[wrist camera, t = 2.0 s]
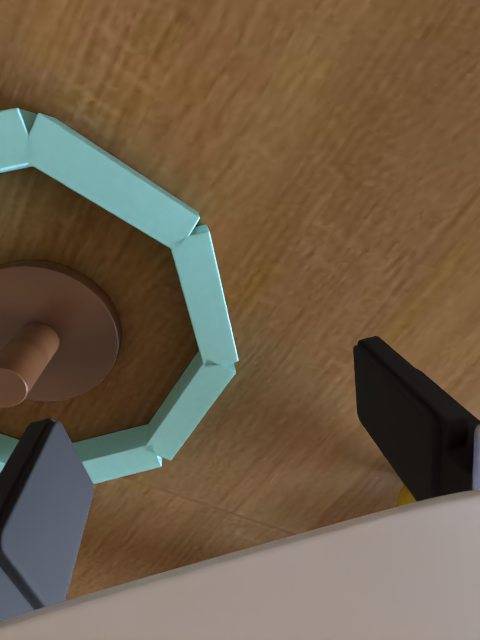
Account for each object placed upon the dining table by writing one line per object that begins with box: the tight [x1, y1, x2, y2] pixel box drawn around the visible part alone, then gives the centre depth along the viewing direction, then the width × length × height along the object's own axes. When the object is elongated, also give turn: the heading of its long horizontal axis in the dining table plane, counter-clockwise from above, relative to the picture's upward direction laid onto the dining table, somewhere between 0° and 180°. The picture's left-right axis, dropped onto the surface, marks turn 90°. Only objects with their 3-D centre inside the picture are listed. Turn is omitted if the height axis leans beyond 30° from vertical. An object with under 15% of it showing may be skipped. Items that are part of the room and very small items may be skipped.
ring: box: [0, 108, 238, 484], centre depth 19 cm, size 20×20×2 cm
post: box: [0, 260, 122, 407], centre depth 17 cm, size 8×8×6 cm
